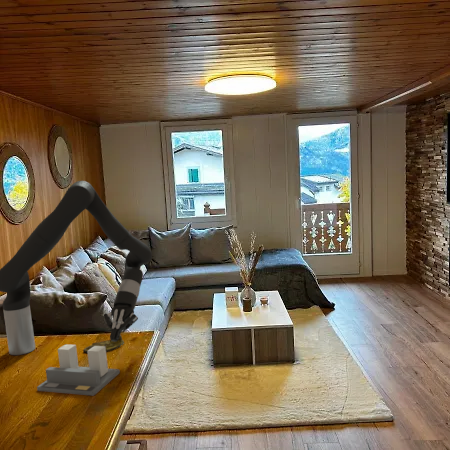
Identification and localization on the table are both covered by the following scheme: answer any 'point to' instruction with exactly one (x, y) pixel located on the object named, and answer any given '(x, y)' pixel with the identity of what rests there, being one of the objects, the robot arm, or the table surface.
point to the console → (76, 380)
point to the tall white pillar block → (98, 359)
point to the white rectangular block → (68, 357)
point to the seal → (107, 344)
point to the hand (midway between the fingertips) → (113, 340)
